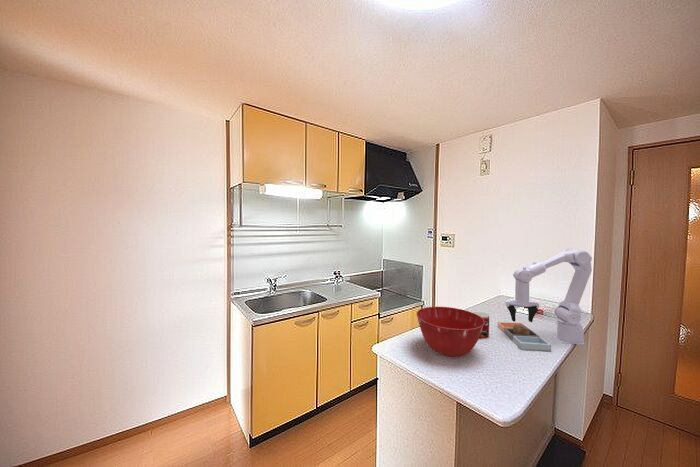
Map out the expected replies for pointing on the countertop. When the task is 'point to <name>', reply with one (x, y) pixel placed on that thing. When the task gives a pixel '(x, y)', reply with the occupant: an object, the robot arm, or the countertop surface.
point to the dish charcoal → (510, 334)
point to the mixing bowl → (450, 330)
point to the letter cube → (520, 330)
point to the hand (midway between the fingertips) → (521, 321)
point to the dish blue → (532, 343)
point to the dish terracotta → (507, 325)
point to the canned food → (486, 326)
